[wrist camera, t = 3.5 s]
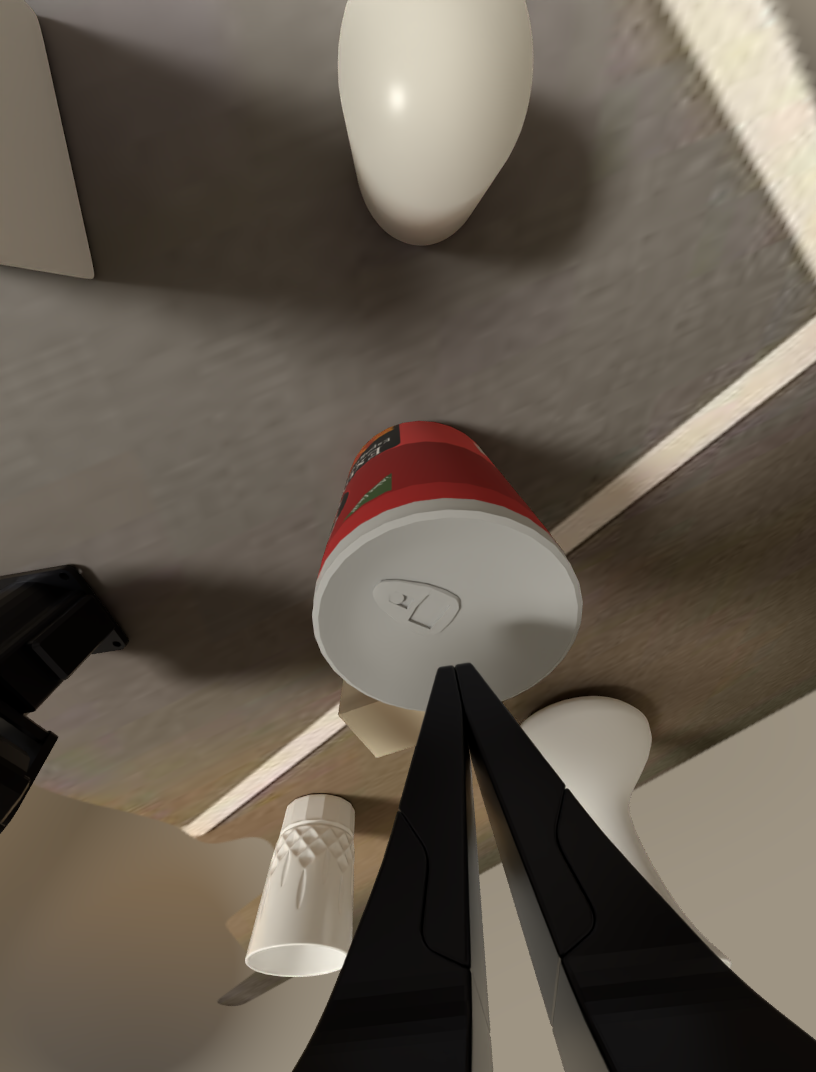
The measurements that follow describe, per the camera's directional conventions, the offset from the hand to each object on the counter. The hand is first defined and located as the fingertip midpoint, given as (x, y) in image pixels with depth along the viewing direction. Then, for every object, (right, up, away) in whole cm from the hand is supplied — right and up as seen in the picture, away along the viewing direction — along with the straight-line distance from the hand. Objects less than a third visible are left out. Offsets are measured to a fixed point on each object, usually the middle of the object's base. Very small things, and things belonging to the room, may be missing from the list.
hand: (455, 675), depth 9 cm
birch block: (-2, -6, +18) cm, 19 cm away
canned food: (-1, +6, +11) cm, 13 cm away
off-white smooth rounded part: (-1, +18, +5) cm, 18 cm away
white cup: (-10, -24, +27) cm, 38 cm away
